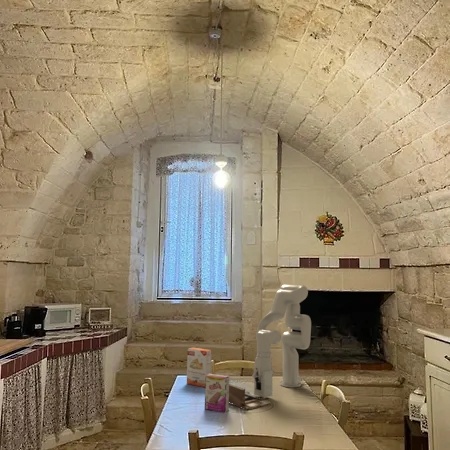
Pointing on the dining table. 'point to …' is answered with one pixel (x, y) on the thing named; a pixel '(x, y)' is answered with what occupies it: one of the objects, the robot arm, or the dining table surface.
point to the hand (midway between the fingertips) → (263, 388)
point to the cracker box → (198, 366)
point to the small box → (264, 385)
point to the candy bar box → (217, 392)
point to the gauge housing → (239, 398)
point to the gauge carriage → (250, 397)
